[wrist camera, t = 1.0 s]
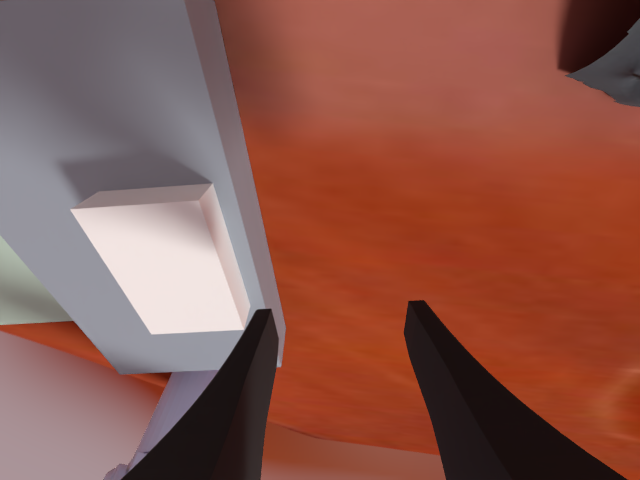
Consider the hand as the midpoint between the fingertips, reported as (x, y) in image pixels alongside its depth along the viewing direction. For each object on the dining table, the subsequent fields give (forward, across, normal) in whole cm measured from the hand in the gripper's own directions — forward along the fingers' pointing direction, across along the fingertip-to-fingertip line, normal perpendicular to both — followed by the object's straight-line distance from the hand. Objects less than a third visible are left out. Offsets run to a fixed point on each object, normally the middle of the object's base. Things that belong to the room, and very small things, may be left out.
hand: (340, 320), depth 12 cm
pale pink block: (+5, +9, 0) cm, 10 cm away
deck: (+9, +12, 0) cm, 15 cm away
